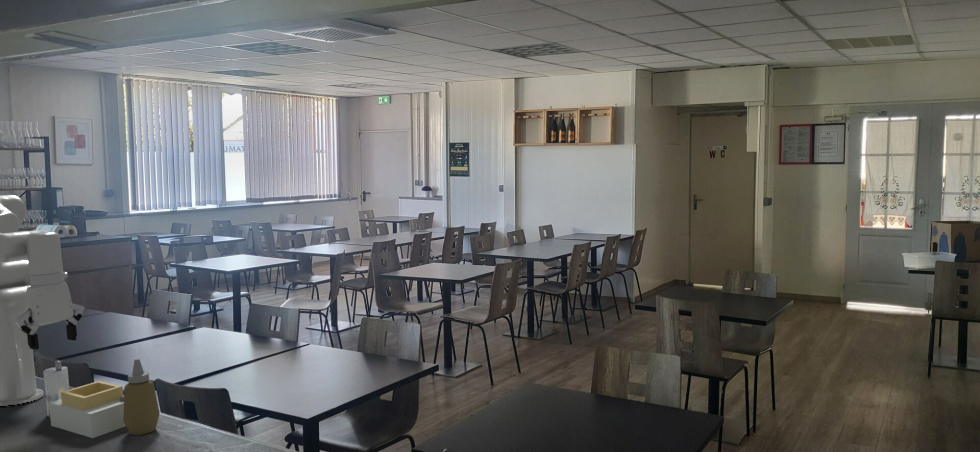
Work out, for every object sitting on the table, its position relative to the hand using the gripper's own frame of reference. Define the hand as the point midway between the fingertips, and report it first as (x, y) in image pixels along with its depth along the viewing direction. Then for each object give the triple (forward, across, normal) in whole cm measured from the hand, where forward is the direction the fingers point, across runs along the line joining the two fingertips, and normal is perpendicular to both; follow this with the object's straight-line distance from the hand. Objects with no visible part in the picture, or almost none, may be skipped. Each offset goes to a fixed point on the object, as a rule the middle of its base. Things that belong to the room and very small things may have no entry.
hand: (53, 344), depth 193 cm
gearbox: (+19, 0, +16) cm, 25 cm away
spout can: (+19, 0, 0) cm, 19 cm away
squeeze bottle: (+19, -2, +32) cm, 37 cm away
